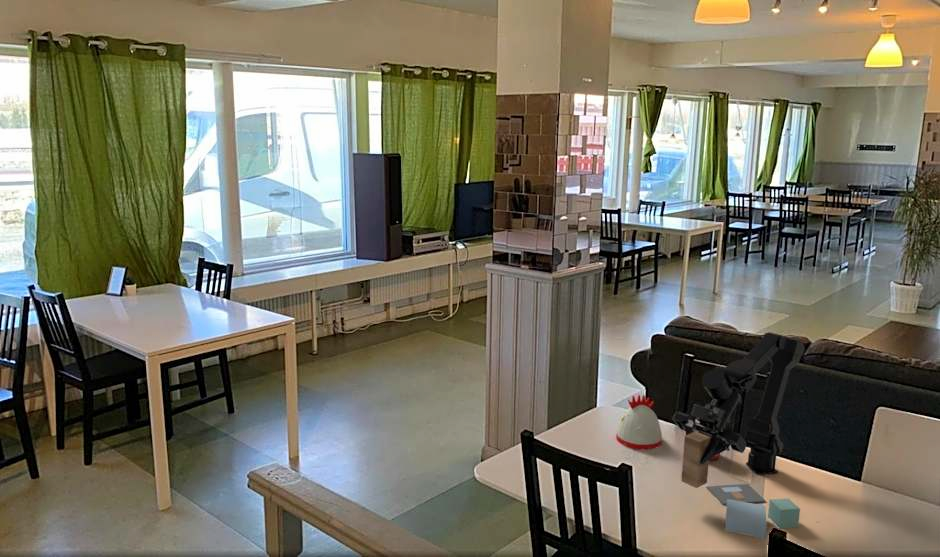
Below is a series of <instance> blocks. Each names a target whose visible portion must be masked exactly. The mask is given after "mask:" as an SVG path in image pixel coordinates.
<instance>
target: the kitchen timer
mask: <svg viewBox="0 0 940 557" xmlns="http://www.w3.org/2000/svg"><path fill="white" fill-rule="evenodd" d="M650 399H651V398H649V397H647V398H646V396H645V394H644V393H643V394H642V396H641V395H640V394H638V395H637V399H636V398H635V395H632V398H631V401H630V399H627V401H628V404H629V408H628V409H626V411H625V412H624V413H623V414H622V416H621V418H620V421H619V423H618V425H617V428H616V434H615V435H616V437H615V438H616V441H617V442H618V443H619V444H621V445H622V446H625V447H627V448H630V449H633V450H635V449H636V450H647V451H648V450H653V449H657V448H659V447H660V446H661V445H662V443H663V435H662V430H661V429H662V428H661V424H660V421H659V419H658V416H657V414H656V413H655V412H654V410H652V407H653V405H654V404H655V402H654V400H652V401H651V402H650ZM658 446H659V447H658ZM656 447H657V448H656Z"/></svg>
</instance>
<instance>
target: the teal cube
mask: <svg viewBox="0 0 940 557" xmlns="http://www.w3.org/2000/svg"><path fill="white" fill-rule="evenodd" d="M800 512H801V508H800V507H799V506H797V505H796V504H795V503H794V502H793V501H792V500H791V499H790V498H789V497H788V498H775V499H774V498H773V499H769V503H768V514H767V519H769V518H770V519H771V520H772V521H773V522H774V523H775V524H776V525H777V526H778V527H779V528H778V527H777V526H776V525H775V524H774V523H773V522H772V521H771V520H770V519H769V520H770V521H771V522H772V523H773V524H774V525H775V526H776V527H777V528H778V529H787V528H789V529H790V528H798V527H799V521H800V515H801V514H800Z"/></svg>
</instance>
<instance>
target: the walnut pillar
mask: <svg viewBox="0 0 940 557" xmlns="http://www.w3.org/2000/svg"><path fill="white" fill-rule="evenodd" d="M710 440H711V437H709V436H706V435H703V434H701V433H698V432H696V431H695V432H693V433H690V434H688V435H686V434H685V435H684V443H683V454H682V468H681V469H682V470H681V480H680V481H681V482H682V483H684V484H687V485H689V486H690V487H693V488H695V489H698V488H701V487H702V486H703V485H706V484H707V483H708V475H709V474H708V473H709V463H710V461H709V460H708V461H707V462H705V463H704V464H701V463H700V461H701V458H702V456H703V455H704V453H705V451H706V449H707V448H708V446H709V444H710Z"/></svg>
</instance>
